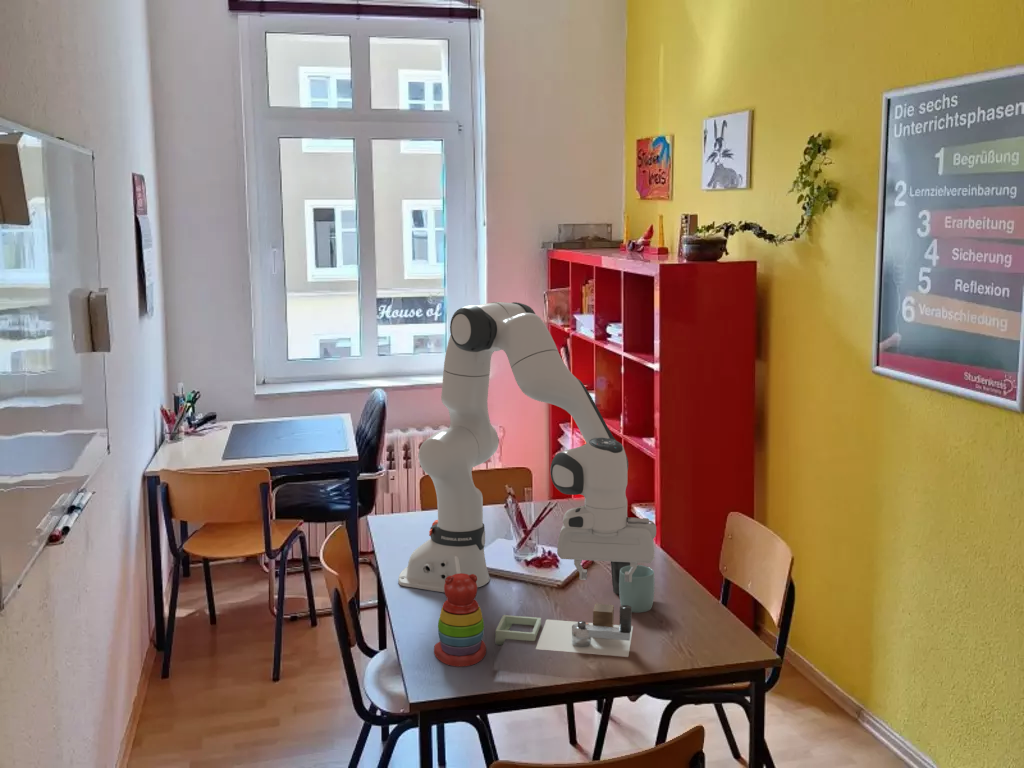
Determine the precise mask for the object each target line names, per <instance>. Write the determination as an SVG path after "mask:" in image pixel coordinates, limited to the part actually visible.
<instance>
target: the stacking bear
mask: <svg viewBox="0 0 1024 768" xmlns="http://www.w3.org/2000/svg"><path fill="white" fill-rule="evenodd" d="M476 581H477V576H476V575H474V574H471V575H468V574H463V573H460V574H454V575H452V576H448V577H447V578H446V579H445V585H444V592H443V593H444V595H445V598H446V600H445V601H444V602H443V604H442V608H441V610H440V614H439V618H438V624H437V632H438V638H439V641H438V642H436V643H435V644H434V648H433V653H434V655H435V657H436V658H437V659H438V661H440V662H441V663H443V664H445V665H448V666H451V667H458V668H459V667H462V668H463V667H468V666H473V665H475V664H478V663H480V662H481V661H482V660H483V659H484V658H485V656H486V654H487V645H486V642H484V640H483V638H484V632H485V629H484V628H485V626H484V625H485V624H484V617H483V613H482V609H481V606H480V605H479V602H478V601H477V600H476V596H477V593H478V587H477V584H476Z"/></svg>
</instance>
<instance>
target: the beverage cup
mask: <svg viewBox="0 0 1024 768" xmlns="http://www.w3.org/2000/svg"><path fill="white" fill-rule="evenodd" d="M629 565H630V562H613V561H610V568H611V582H612V583H611V585H612V592H613V593H614V594H615V595H619V573H620V569H621V568H622V567H625V566H629Z"/></svg>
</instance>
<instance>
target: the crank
mask: <svg viewBox="0 0 1024 768" xmlns="http://www.w3.org/2000/svg"><path fill="white" fill-rule="evenodd" d="M632 613H633V612H632V607H631V606H628V605H622V606H621V605H620V606H619V624H618V625H619V627H606V626H593V625H589V624H586V623H587V622H586V621H584V620H579V621H577V622H578V623H576V624H574V625H572V644H573V645H575V646H580V647H585V646H589V645H590V644H591V638H603V639H615V640H628V641H630V632H631V626H632Z"/></svg>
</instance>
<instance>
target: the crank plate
mask: <svg viewBox="0 0 1024 768" xmlns="http://www.w3.org/2000/svg"><path fill="white" fill-rule="evenodd" d="M576 623H578V621H573V620H571V621H570V620H559V619H546V620H545V623H544V625H543V627H542V631H541V633H540V636H539V639H538V641H537V644H536V647H535V650H537V651H539V650H540V651H541V650H542V651H552V652H553V651H554V652H565V653H575V654H576V653H577V654H589V655H592V654H593V655H599V656H601V655H602V656H613V657H623V658H624V657H625V658H628V657H629V655H630V649H631V648H630V647H631V643H632V635H633V630H634V625H631V632H630V641H628V640H615V639H601V638H591V644H590V645H589V646H585V647H580V646H575V645H573V644H572V625H574V624H576ZM586 624H589V625H593V622H586ZM613 627H619V624H613Z"/></svg>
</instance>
